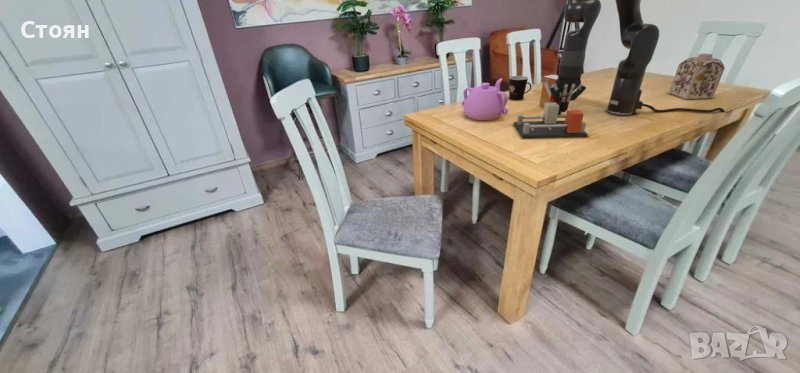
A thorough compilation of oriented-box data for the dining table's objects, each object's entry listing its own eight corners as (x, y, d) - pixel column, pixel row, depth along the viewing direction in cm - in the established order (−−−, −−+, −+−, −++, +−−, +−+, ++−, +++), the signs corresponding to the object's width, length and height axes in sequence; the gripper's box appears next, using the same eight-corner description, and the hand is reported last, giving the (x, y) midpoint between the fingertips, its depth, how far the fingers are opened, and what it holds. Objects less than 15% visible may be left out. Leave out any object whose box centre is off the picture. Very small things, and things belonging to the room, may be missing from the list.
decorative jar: (713, 98, 147) (731, 55, 138) (686, 100, 147) (702, 57, 138) (693, 92, 157) (708, 51, 148) (667, 93, 158) (681, 52, 149)
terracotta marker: (574, 128, 121) (578, 109, 117) (579, 132, 117) (583, 113, 114) (563, 128, 121) (567, 110, 118) (567, 133, 117) (571, 114, 114)
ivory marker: (552, 119, 130) (555, 102, 127) (556, 123, 126) (559, 105, 123) (541, 120, 130) (544, 102, 127) (545, 123, 127) (548, 106, 123)
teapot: (521, 112, 145) (525, 79, 138) (496, 126, 132) (499, 91, 125) (477, 104, 158) (479, 74, 152) (450, 116, 145) (451, 84, 138)
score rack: (571, 123, 130) (573, 111, 128) (587, 137, 117) (590, 124, 115) (513, 124, 132) (515, 113, 130) (522, 138, 119) (524, 126, 117)
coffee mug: (504, 97, 167) (506, 76, 162) (521, 95, 167) (523, 75, 163) (513, 103, 157) (515, 81, 152) (530, 102, 157) (533, 80, 152)
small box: (539, 105, 152) (543, 76, 146) (549, 103, 154) (554, 74, 148) (552, 110, 146) (557, 79, 139) (563, 107, 148) (569, 77, 141)
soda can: (561, 116, 138) (567, 86, 132) (548, 116, 139) (553, 86, 133) (559, 112, 142) (564, 83, 136) (546, 112, 143) (551, 83, 137)
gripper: (555, 66, 115) (547, 115, 123) (596, 64, 113) (584, 114, 122) (549, 62, 121) (541, 109, 130) (587, 60, 120) (577, 108, 128)
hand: (562, 111), depth 126 cm, fingers closed
